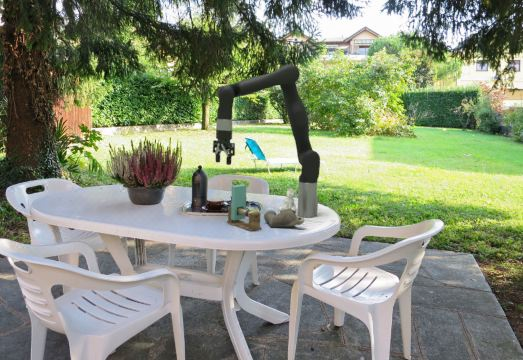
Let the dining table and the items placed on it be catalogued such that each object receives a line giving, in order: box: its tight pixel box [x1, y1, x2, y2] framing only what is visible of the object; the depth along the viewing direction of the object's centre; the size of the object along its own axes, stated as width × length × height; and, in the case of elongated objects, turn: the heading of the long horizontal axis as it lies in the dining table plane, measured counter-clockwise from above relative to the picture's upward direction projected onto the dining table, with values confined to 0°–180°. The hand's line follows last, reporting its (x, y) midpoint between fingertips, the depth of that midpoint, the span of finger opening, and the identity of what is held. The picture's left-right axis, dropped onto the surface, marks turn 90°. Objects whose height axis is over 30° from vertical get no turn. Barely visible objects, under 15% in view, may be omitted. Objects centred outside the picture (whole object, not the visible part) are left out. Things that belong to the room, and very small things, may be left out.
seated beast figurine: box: [277, 188, 298, 213], centre depth 240 cm, size 10×9×12 cm
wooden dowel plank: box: [226, 205, 262, 233], centre depth 210 cm, size 18×6×8 cm, turn 41°
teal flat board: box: [230, 184, 247, 221], centre depth 212 cm, size 2×6×16 cm, turn 131°
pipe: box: [263, 208, 305, 228], centre depth 213 cm, size 16×9×15 cm
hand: (223, 163), depth 219 cm, fingers open, 8 cm apart
